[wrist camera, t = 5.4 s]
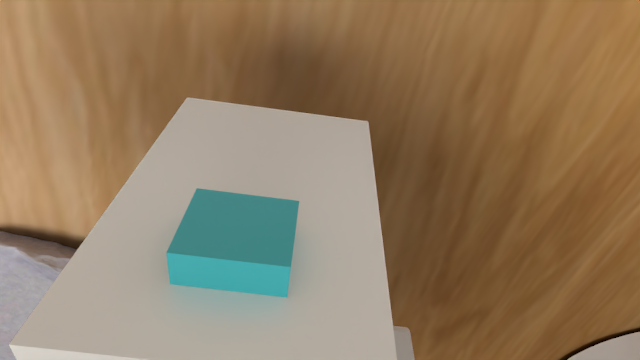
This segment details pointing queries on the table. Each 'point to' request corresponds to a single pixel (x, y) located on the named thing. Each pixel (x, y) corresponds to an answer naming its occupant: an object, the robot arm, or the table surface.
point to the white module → (230, 249)
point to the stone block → (25, 280)
